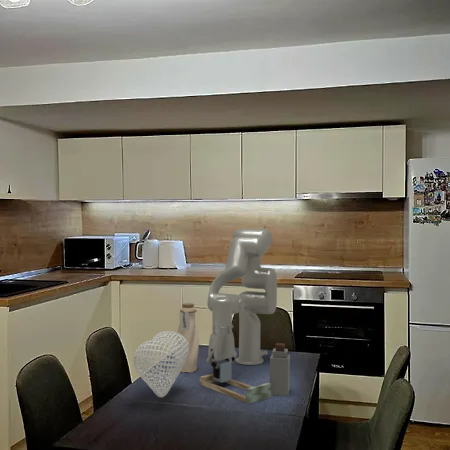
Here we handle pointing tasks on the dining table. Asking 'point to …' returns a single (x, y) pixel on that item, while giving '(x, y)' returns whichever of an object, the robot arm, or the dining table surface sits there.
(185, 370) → the water bottle
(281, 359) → the perfume bottle
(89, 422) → the dining table surface
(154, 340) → the heart
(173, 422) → the dining table surface
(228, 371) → the grey rectangular block
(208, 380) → the track
